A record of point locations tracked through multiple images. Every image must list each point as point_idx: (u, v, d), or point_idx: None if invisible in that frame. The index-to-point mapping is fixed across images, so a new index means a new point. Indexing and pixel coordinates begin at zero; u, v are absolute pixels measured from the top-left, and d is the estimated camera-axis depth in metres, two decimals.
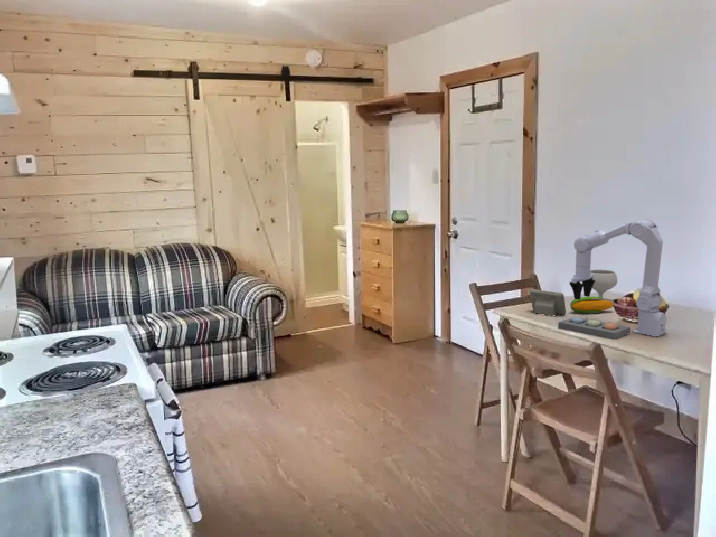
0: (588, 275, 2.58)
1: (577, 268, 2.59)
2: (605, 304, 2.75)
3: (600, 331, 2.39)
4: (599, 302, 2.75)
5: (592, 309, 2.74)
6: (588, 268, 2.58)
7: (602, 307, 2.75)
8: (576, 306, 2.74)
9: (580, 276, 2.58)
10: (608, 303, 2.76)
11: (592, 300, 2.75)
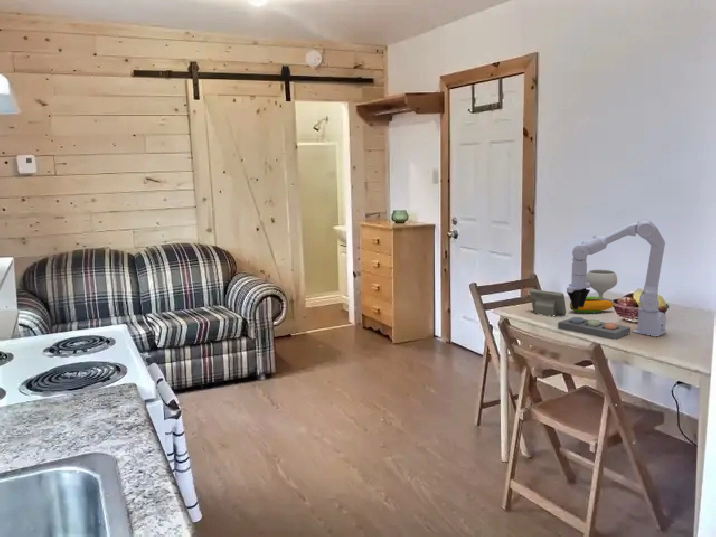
0: (584, 284, 2.48)
1: (573, 277, 2.49)
2: (604, 304, 2.75)
3: (600, 331, 2.39)
4: (599, 302, 2.75)
5: (592, 309, 2.75)
6: (584, 277, 2.47)
7: (602, 307, 2.75)
8: None
9: (576, 285, 2.48)
10: (608, 303, 2.76)
11: (592, 300, 2.75)
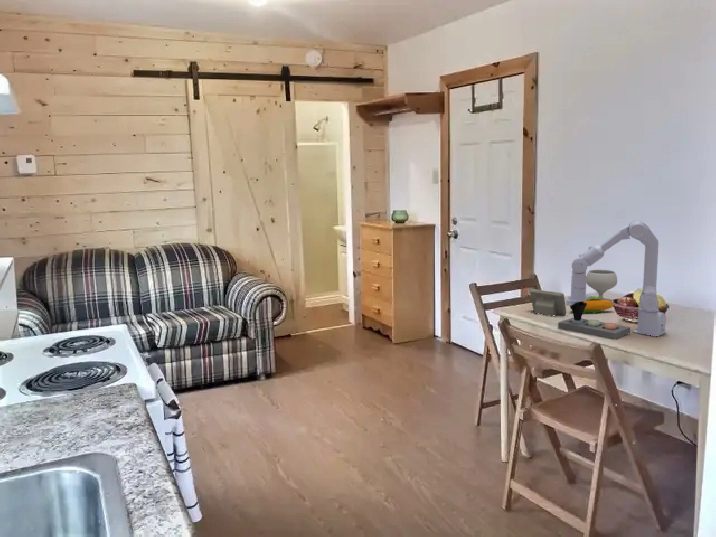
0: (584, 297, 2.48)
1: (572, 290, 2.49)
2: (604, 304, 2.75)
3: (600, 331, 2.39)
4: (599, 302, 2.75)
5: (591, 309, 2.75)
6: (584, 290, 2.48)
7: (602, 307, 2.75)
8: None
9: (575, 298, 2.49)
10: (608, 303, 2.76)
11: (592, 300, 2.76)
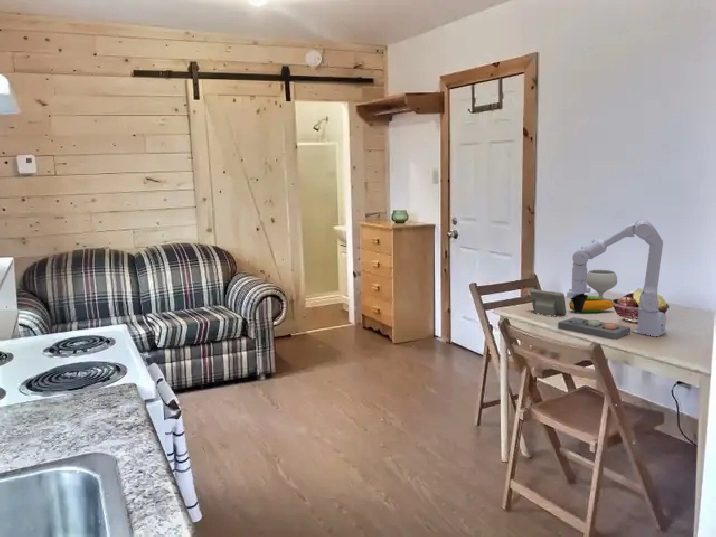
0: (584, 289, 2.48)
1: (573, 282, 2.49)
2: (604, 304, 2.75)
3: (600, 331, 2.39)
4: (598, 302, 2.75)
5: (591, 309, 2.75)
6: (584, 282, 2.47)
7: (601, 307, 2.75)
8: None
9: (576, 290, 2.48)
10: (608, 303, 2.76)
11: (591, 300, 2.76)
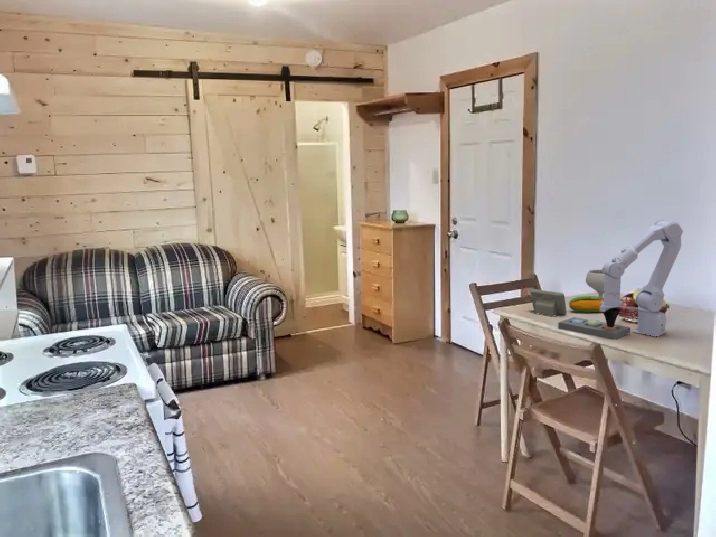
0: (618, 303, 2.38)
1: (605, 295, 2.39)
2: None
3: (600, 331, 2.39)
4: (598, 302, 2.76)
5: (591, 308, 2.76)
6: (618, 295, 2.37)
7: None
8: (574, 305, 2.76)
9: (609, 304, 2.38)
10: None
11: (591, 299, 2.76)
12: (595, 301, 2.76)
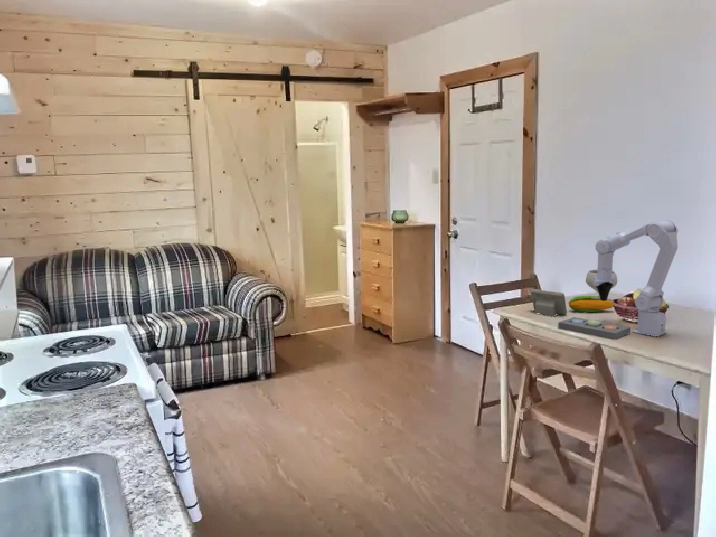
0: (610, 277, 2.55)
1: (599, 270, 2.56)
2: (604, 304, 2.76)
3: (600, 331, 2.39)
4: (598, 301, 2.76)
5: (590, 308, 2.76)
6: (610, 270, 2.54)
7: (601, 306, 2.76)
8: (574, 304, 2.77)
9: (602, 278, 2.55)
10: (608, 303, 2.76)
11: (591, 299, 2.77)
12: (595, 301, 2.76)
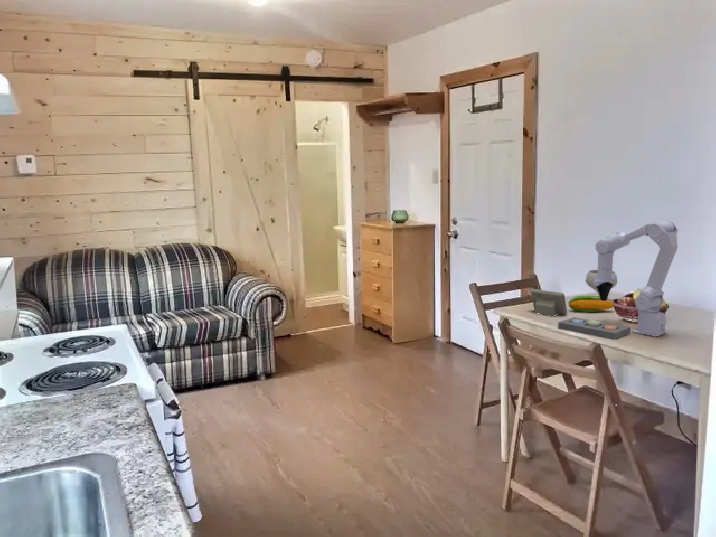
0: (610, 277, 2.55)
1: (599, 270, 2.56)
2: (604, 304, 2.76)
3: (600, 331, 2.39)
4: (598, 301, 2.76)
5: (590, 308, 2.76)
6: (610, 270, 2.54)
7: (601, 306, 2.76)
8: (573, 304, 2.78)
9: (602, 279, 2.55)
10: (608, 303, 2.76)
11: (591, 299, 2.77)
12: (595, 301, 2.76)
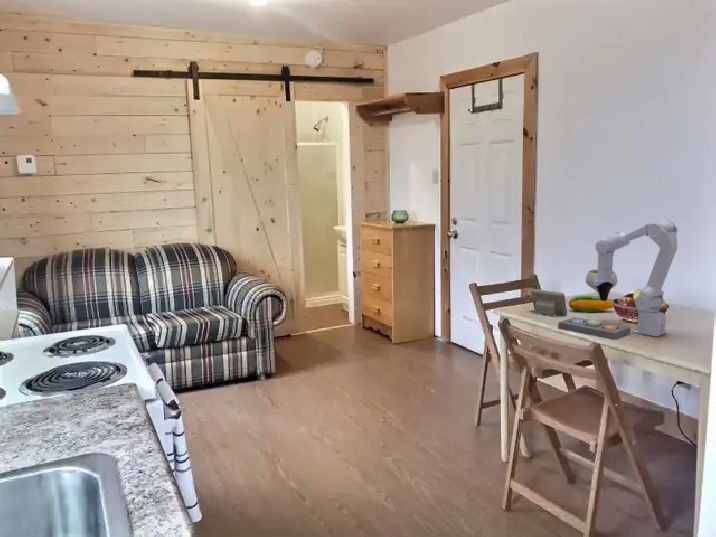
0: (610, 277, 2.55)
1: (599, 270, 2.56)
2: (604, 304, 2.76)
3: (600, 331, 2.39)
4: (598, 301, 2.76)
5: (590, 308, 2.77)
6: (610, 270, 2.54)
7: (601, 306, 2.76)
8: (573, 304, 2.78)
9: (602, 279, 2.55)
10: (608, 303, 2.76)
11: (591, 299, 2.77)
12: (595, 301, 2.76)
